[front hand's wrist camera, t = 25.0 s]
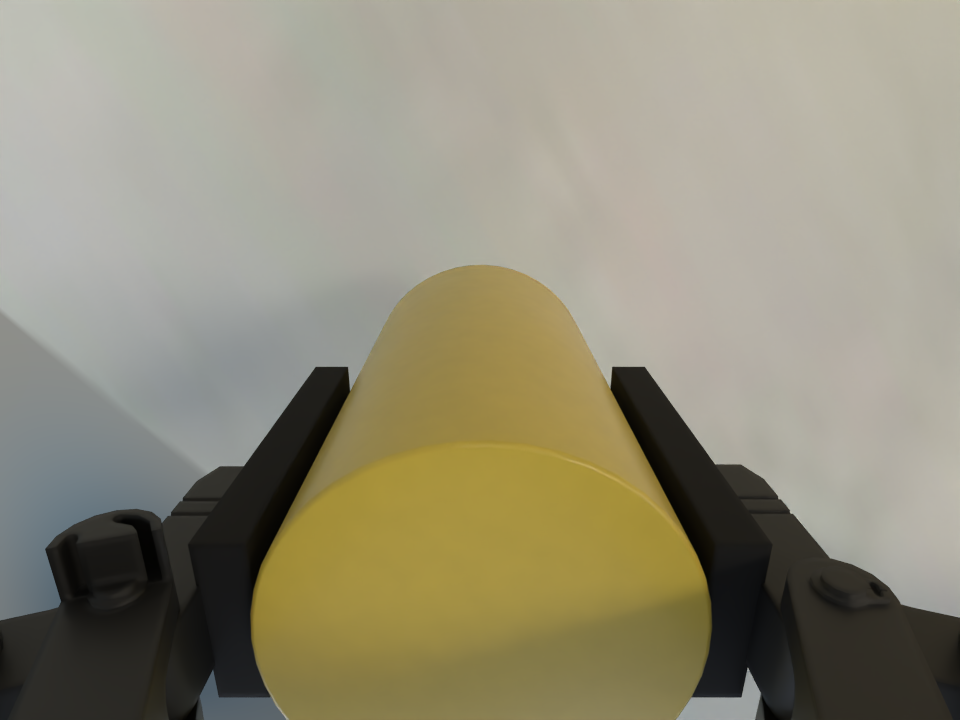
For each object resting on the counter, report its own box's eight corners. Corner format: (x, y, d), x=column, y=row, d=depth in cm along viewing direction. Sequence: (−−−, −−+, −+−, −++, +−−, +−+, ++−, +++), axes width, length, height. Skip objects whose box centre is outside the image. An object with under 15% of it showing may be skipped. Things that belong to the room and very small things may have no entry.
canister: (608, 421, 18) (756, 746, 9) (424, 482, 19) (365, 843, 9) (546, 232, 16) (645, 371, 7) (342, 308, 17) (158, 534, 7)
